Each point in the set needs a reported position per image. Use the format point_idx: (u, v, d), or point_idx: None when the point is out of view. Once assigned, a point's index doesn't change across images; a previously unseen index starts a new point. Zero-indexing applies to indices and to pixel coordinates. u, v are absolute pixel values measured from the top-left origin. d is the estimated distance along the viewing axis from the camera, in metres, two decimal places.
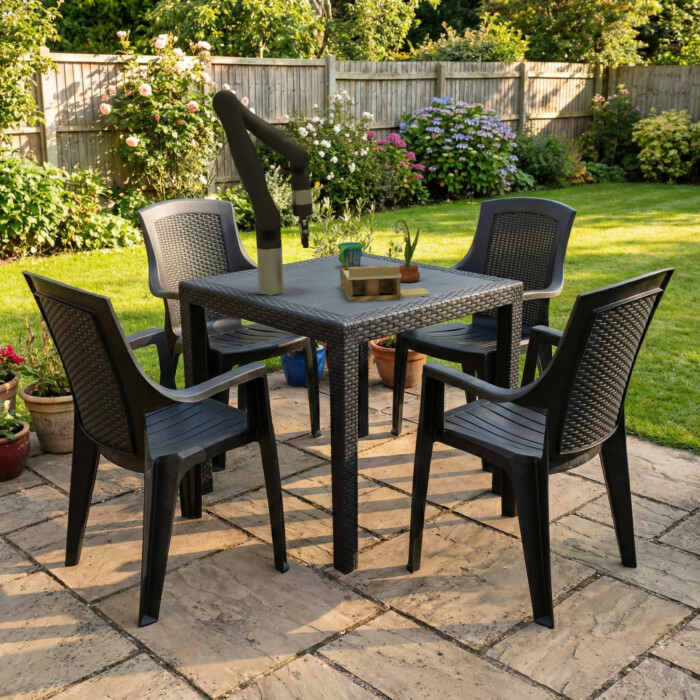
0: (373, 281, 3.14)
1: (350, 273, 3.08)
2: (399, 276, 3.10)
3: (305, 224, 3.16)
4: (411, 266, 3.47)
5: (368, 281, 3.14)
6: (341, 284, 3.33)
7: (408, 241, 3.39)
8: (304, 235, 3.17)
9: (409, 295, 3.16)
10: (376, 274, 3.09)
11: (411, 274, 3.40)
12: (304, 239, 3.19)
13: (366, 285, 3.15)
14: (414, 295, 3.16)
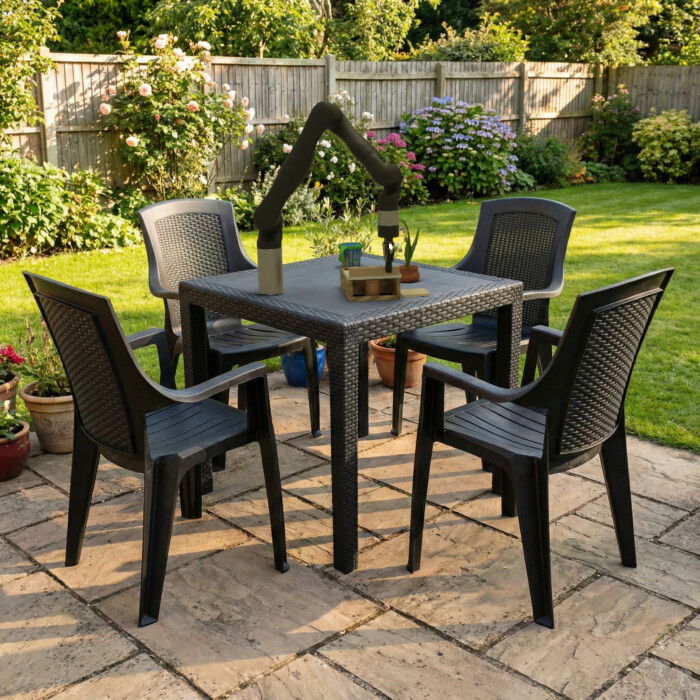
0: (373, 281, 3.14)
1: (350, 273, 3.08)
2: (399, 276, 3.11)
3: (391, 253, 3.01)
4: (411, 266, 3.47)
5: (368, 281, 3.14)
6: (341, 284, 3.33)
7: (408, 241, 3.39)
8: (388, 260, 3.04)
9: (409, 295, 3.16)
10: (376, 274, 3.09)
11: (411, 274, 3.40)
12: (388, 264, 3.06)
13: (366, 285, 3.15)
14: (414, 295, 3.16)
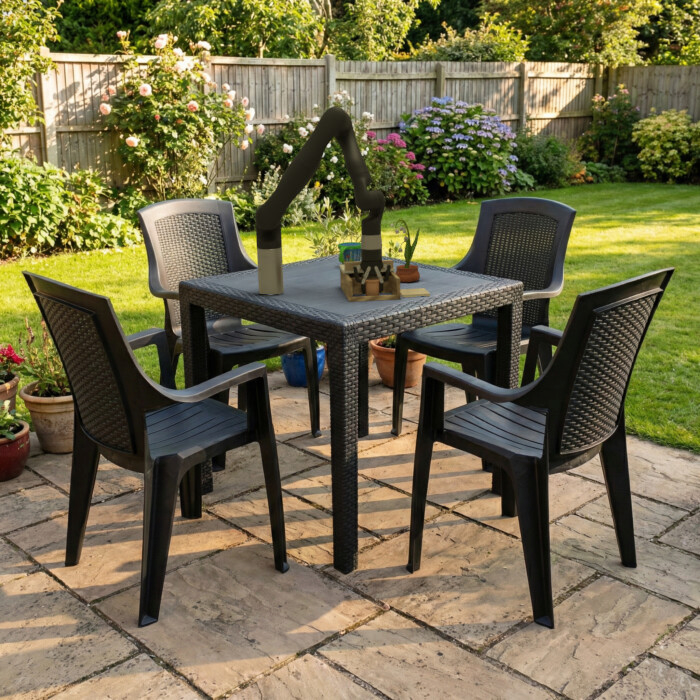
0: (373, 281, 3.14)
1: (346, 267, 3.20)
2: (393, 270, 3.23)
3: (353, 270, 3.14)
4: (411, 266, 3.47)
5: (368, 281, 3.14)
6: (341, 284, 3.33)
7: (408, 241, 3.39)
8: (356, 280, 3.16)
9: (409, 295, 3.16)
10: None
11: (411, 274, 3.40)
12: None
13: (366, 285, 3.15)
14: (414, 295, 3.16)
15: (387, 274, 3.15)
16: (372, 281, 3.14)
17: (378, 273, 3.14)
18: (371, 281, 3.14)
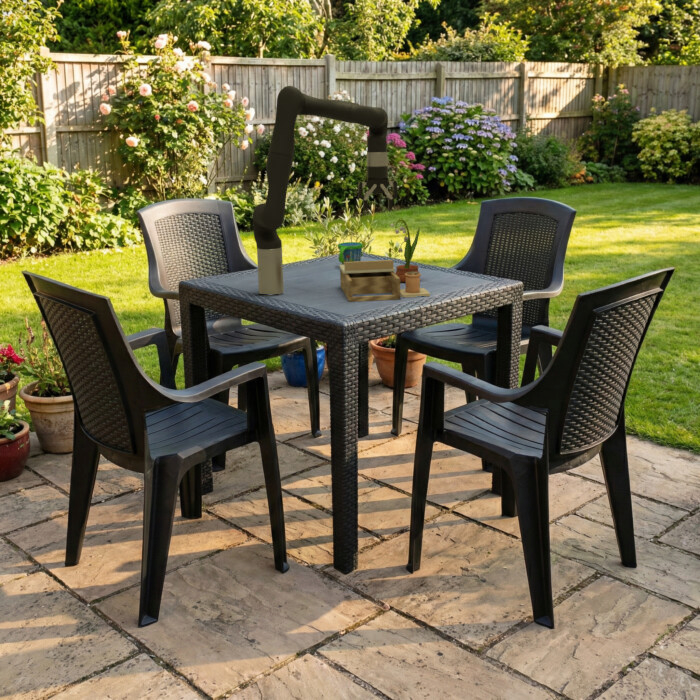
0: (414, 276, 3.16)
1: (346, 267, 3.20)
2: (393, 270, 3.23)
3: (358, 186, 3.16)
4: (411, 266, 3.47)
5: (409, 276, 3.16)
6: (341, 284, 3.33)
7: (408, 241, 3.39)
8: (358, 196, 3.18)
9: (409, 295, 3.16)
10: (371, 268, 3.22)
11: None
12: (363, 201, 3.18)
13: (407, 279, 3.18)
14: (414, 295, 3.16)
15: (395, 190, 3.17)
16: (413, 276, 3.16)
17: (385, 190, 3.16)
18: (412, 276, 3.16)
